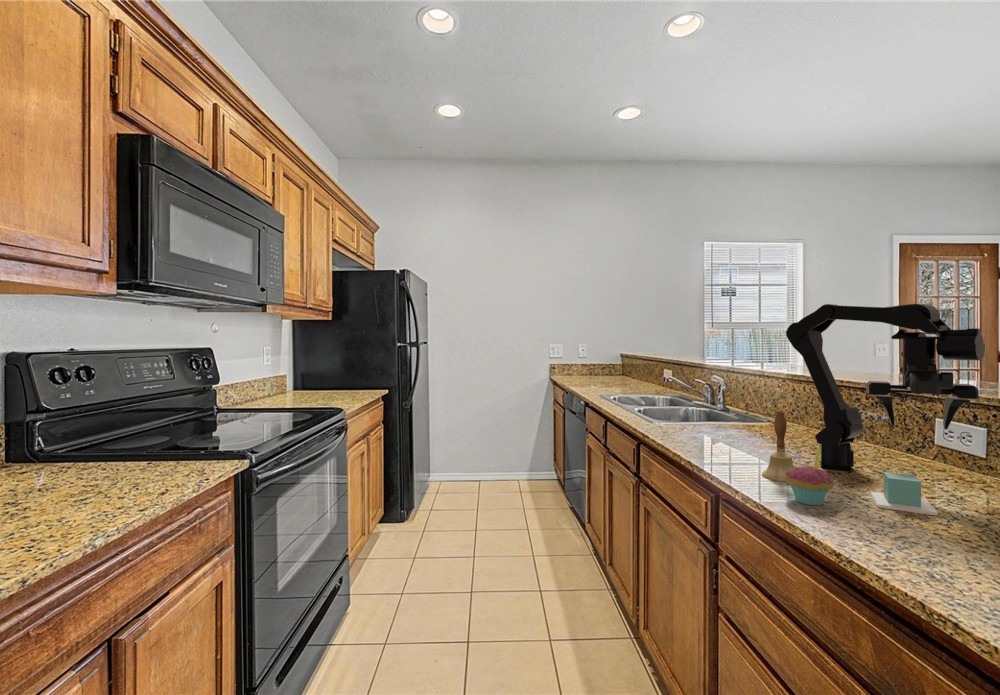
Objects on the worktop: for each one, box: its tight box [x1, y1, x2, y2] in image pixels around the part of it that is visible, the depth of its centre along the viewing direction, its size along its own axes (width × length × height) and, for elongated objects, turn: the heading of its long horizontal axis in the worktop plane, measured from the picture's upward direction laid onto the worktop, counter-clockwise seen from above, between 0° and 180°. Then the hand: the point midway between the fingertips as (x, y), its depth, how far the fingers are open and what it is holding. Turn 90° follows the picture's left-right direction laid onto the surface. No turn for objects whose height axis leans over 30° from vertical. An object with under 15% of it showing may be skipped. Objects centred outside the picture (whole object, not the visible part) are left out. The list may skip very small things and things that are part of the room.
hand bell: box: [761, 410, 795, 483], centre depth 115 cm, size 8×8×16 cm
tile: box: [869, 491, 939, 516], centre depth 96 cm, size 9×9×1 cm
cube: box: [883, 471, 922, 507], centre depth 96 cm, size 5×5×5 cm
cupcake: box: [784, 444, 835, 506], centre depth 98 cm, size 9×8×12 cm
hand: (918, 427), depth 109 cm, fingers open, 9 cm apart
